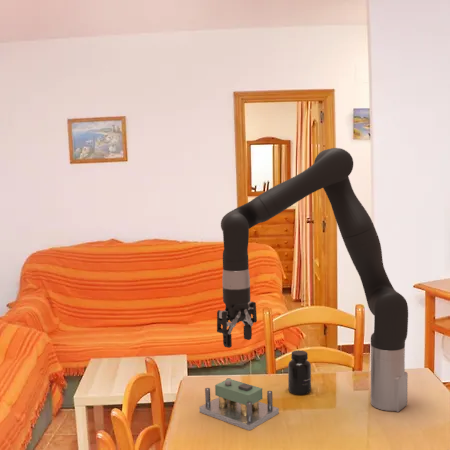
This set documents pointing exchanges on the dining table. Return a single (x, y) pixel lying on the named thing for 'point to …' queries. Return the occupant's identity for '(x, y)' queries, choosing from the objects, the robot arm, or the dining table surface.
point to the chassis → (239, 411)
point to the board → (238, 391)
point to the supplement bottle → (299, 373)
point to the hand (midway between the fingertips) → (238, 343)
